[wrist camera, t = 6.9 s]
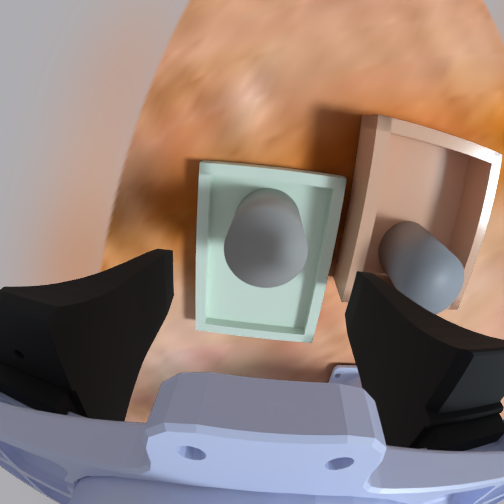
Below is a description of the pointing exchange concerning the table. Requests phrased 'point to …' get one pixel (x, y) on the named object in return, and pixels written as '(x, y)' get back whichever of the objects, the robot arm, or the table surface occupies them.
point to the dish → (415, 195)
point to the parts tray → (247, 296)
